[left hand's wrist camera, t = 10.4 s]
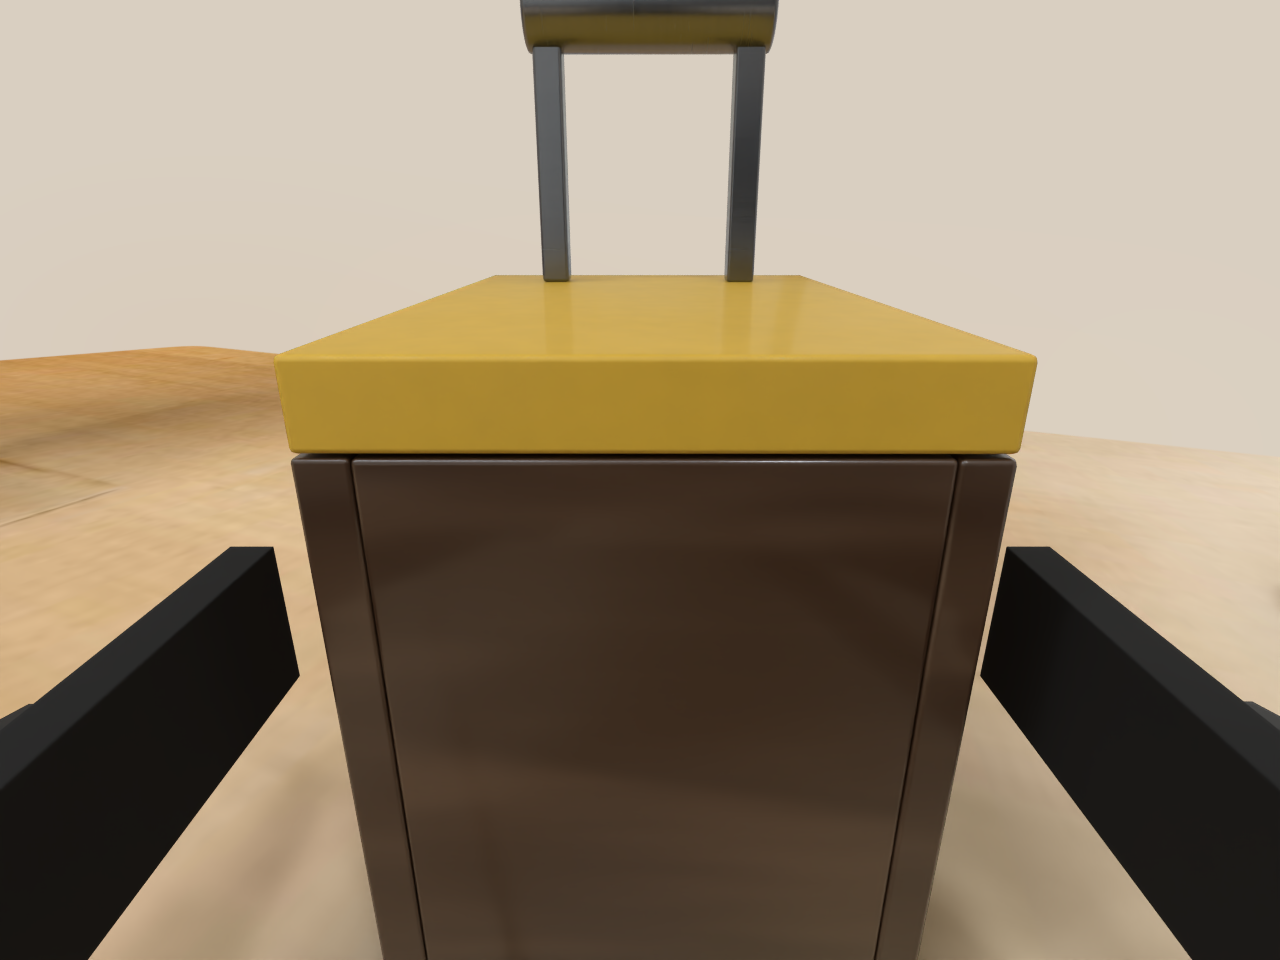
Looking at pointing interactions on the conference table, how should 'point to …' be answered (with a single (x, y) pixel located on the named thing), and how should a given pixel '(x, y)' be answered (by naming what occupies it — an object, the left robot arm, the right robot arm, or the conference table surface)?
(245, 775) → the conference table surface
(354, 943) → the conference table surface
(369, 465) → the chest
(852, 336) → the lid
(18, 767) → the left robot arm
